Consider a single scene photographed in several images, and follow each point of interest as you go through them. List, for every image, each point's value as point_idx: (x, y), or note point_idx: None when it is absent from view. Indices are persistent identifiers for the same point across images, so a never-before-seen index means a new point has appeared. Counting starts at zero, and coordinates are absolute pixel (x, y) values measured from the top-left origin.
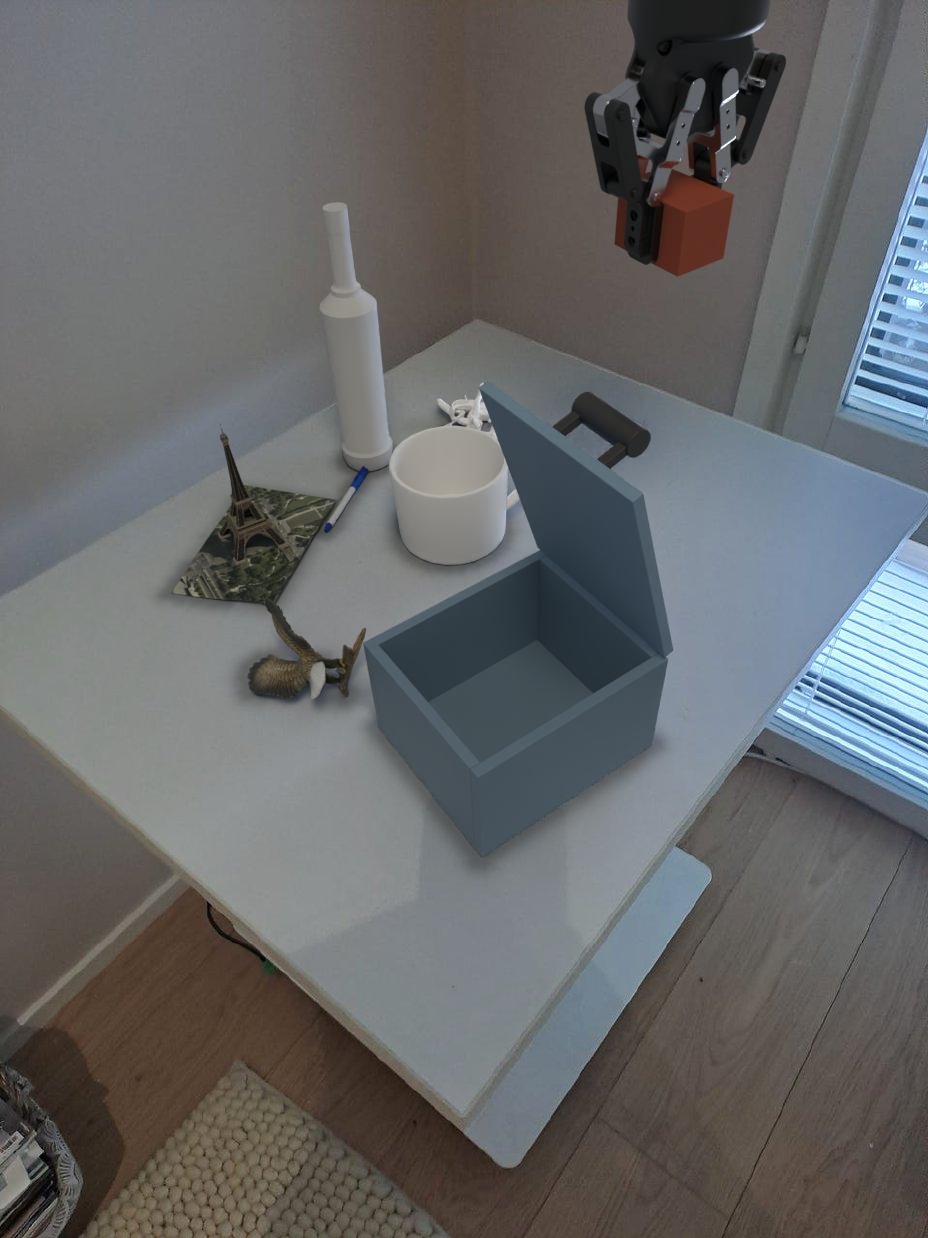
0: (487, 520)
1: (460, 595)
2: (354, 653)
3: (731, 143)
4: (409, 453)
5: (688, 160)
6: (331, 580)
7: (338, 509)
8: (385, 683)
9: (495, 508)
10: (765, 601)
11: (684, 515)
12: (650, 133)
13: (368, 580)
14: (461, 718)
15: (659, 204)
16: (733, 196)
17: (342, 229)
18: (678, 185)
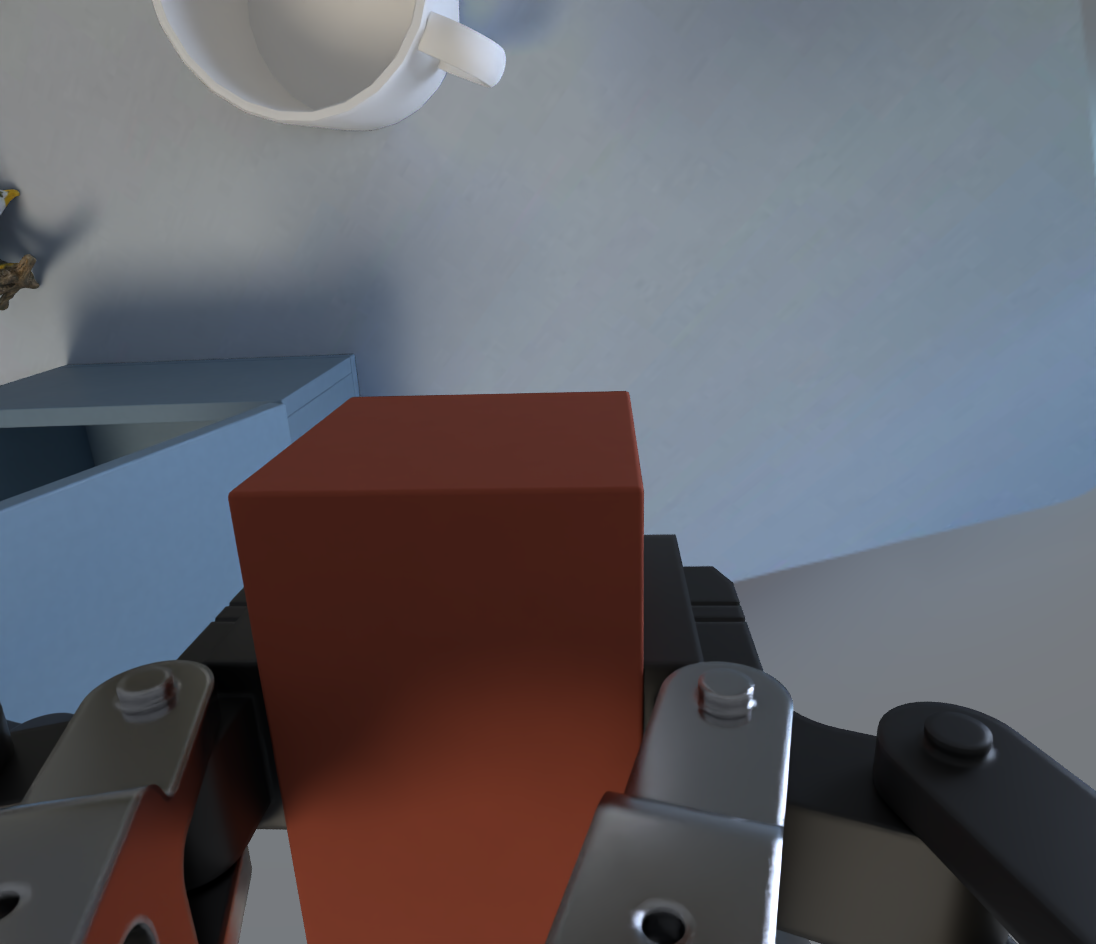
0: (346, 126)
1: (101, 413)
2: (19, 275)
3: (903, 928)
4: None
5: (653, 709)
6: (82, 4)
7: None
8: None
9: (364, 119)
10: (702, 498)
11: (760, 258)
12: (130, 928)
13: (148, 49)
14: (168, 431)
15: (270, 815)
16: None
17: None
18: (489, 742)
